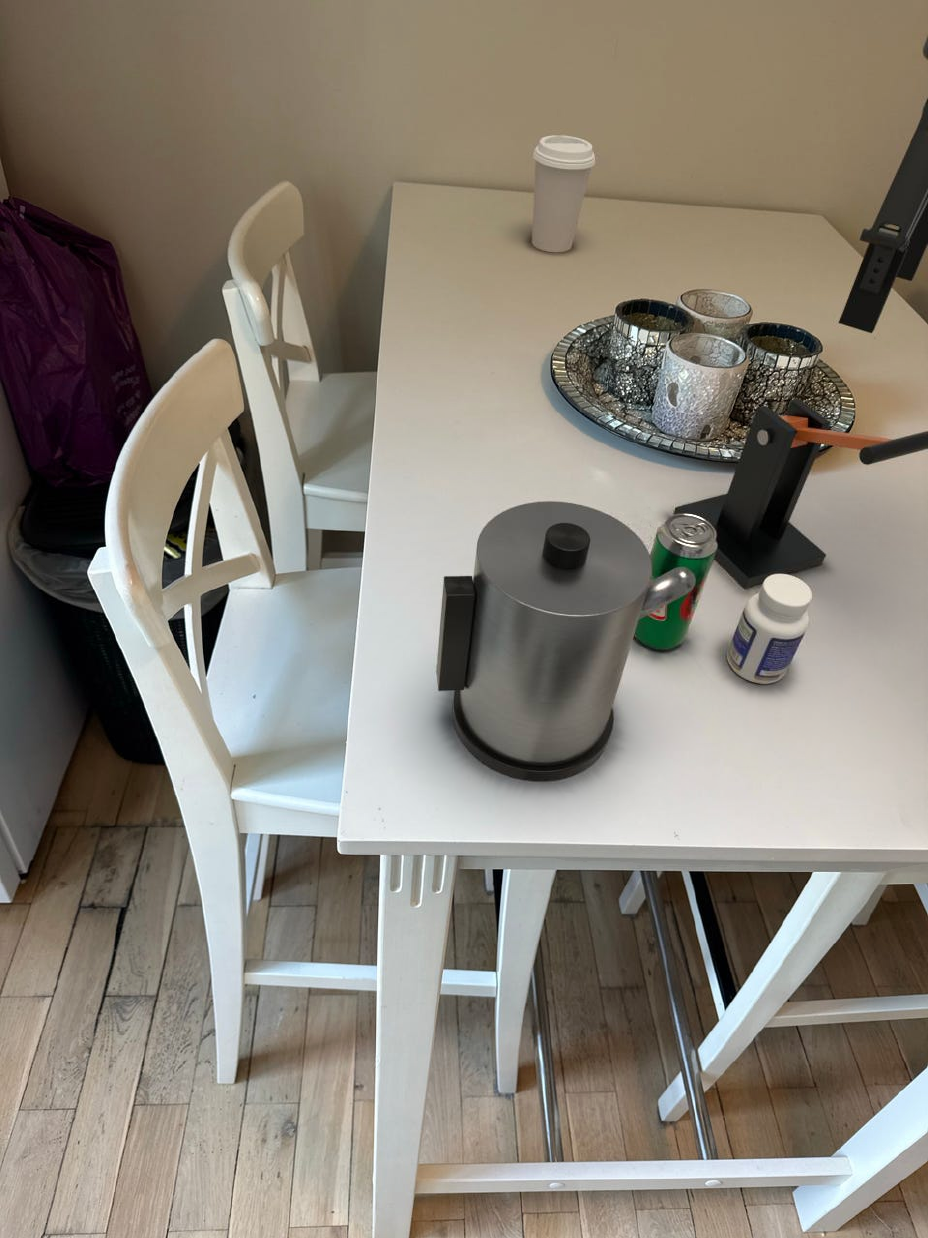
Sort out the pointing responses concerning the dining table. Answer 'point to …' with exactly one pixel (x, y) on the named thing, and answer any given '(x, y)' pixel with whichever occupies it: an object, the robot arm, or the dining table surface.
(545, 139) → the coffee cup
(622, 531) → the kettle
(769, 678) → the pill bottle
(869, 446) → the orange switch lever
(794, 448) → the switch bracket
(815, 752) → the dining table surface
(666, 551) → the soda can
